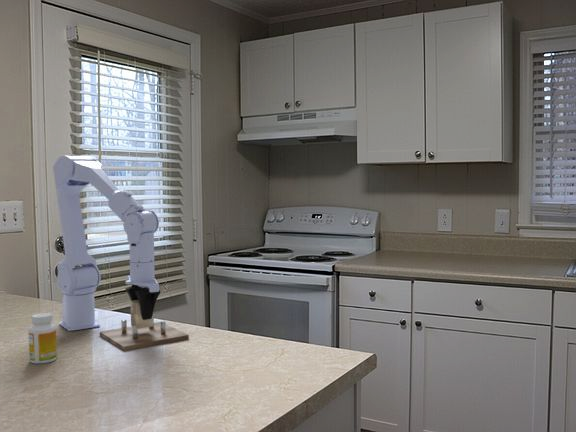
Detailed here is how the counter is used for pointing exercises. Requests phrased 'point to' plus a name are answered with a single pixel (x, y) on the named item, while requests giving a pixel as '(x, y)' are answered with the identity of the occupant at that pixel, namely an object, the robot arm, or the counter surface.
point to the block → (139, 316)
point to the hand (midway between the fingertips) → (143, 317)
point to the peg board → (142, 335)
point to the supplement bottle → (42, 339)
